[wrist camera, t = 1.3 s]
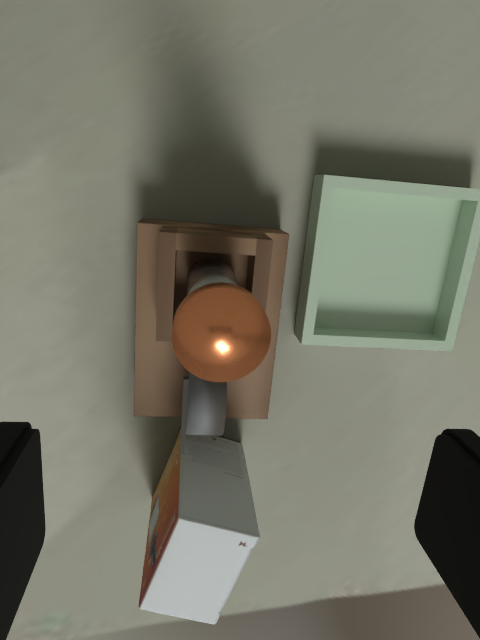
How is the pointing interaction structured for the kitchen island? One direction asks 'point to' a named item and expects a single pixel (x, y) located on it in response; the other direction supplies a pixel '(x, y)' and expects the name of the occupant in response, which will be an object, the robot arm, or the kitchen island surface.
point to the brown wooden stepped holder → (161, 305)
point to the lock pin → (219, 325)
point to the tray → (386, 263)
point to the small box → (198, 530)
